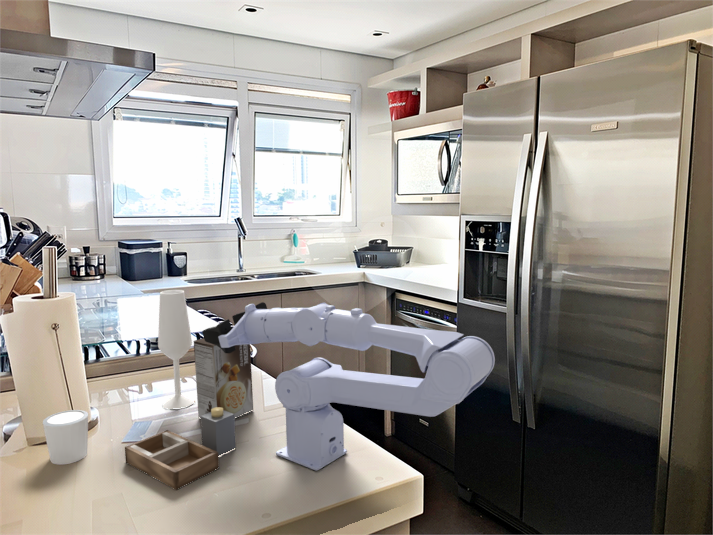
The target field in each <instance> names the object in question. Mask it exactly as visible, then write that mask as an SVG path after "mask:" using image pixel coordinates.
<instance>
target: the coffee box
mask: <svg viewBox="0 0 713 535" xmlns="http://www.w3.org/2000/svg"><path fill="white" fill-rule="evenodd" d="M235 349H236V350H235V351H233V352H231V353H224V351H223V350H222V349H221V348H219V347H218V346H216V345H214V344H211V343H208V342H206V341H205V340H204V337H203V338H200V339H196V340H193V351H194V352H193V354H194V366H195V381H196V383H195V384H196V396H197V397H196V399H197V414H198V418H199V417H200V418H201V416H202V415H205V414H207V413H210V412H211V409H213V408H216V407H221V408H223V410H224V411H227V412H230V413H233V414H234V418H235V417H238V416H240V415H242V414H244V413H246V412H249V411H251V410H253V411H254V398H253V397H254V396H253V376H252V374H253V372H252V357H251V356H252V355H251V354H252V353H251V344H245V345H235Z"/></svg>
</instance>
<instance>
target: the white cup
mask: <svg viewBox="0 0 713 535" xmlns="http://www.w3.org/2000/svg"><path fill="white" fill-rule="evenodd" d="M42 425H43V431H44V436H45V437H44V438H45V441H46V446H47V451H48V455H49V459H50V462H51V463H52V464H54V465H67V464H72V463H76V462H79V461H81V460H82V459H84V458H86V456H87V455H88V444H89V442H88V441H89V437H88V436H89V432H88V431H89V412H88V411H86V410H81V409H70V410H64V411H59V412H56V413H53V414H51V415H48V416H46V418H44V419H43V420H42Z"/></svg>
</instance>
